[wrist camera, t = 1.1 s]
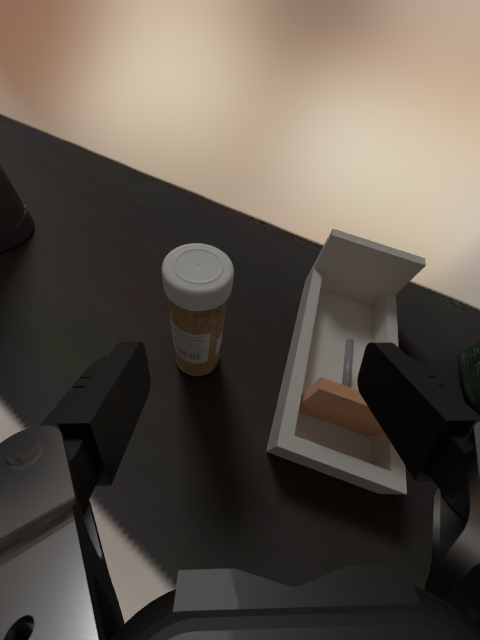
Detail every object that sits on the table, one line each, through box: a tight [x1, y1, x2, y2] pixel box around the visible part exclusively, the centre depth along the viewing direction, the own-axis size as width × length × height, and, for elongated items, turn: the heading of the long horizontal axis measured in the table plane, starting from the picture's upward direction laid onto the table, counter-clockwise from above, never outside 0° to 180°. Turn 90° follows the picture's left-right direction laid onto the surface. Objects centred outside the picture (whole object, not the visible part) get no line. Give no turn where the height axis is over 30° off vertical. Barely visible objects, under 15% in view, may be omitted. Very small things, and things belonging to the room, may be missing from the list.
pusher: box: [299, 339, 384, 437], centre depth 24 cm, size 8×7×6 cm
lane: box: [266, 229, 426, 494], centre depth 26 cm, size 22×10×9 cm, turn 162°
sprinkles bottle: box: [162, 243, 234, 376], centre depth 22 cm, size 5×5×14 cm
